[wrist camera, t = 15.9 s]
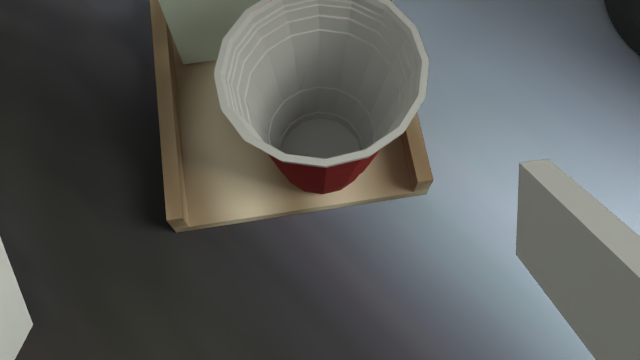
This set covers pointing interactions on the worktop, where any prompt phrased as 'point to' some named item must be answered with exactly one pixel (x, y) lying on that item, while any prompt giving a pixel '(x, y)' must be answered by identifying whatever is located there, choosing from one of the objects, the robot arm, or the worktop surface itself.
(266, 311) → the worktop surface
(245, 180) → the wooden tray
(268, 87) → the plastic cup
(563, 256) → the robot arm
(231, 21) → the pusher
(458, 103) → the worktop surface
